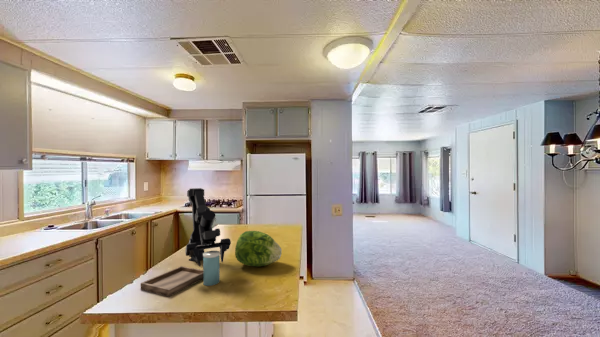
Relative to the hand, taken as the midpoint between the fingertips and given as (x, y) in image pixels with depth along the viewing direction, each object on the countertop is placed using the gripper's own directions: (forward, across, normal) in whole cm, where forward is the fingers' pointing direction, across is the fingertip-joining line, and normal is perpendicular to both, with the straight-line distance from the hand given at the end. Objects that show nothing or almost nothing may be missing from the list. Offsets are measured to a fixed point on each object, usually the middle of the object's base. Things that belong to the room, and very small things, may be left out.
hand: (211, 264), depth 108 cm
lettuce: (0, +25, +12) cm, 27 cm away
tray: (0, -13, +11) cm, 17 cm away
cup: (+5, 0, +6) cm, 8 cm away
